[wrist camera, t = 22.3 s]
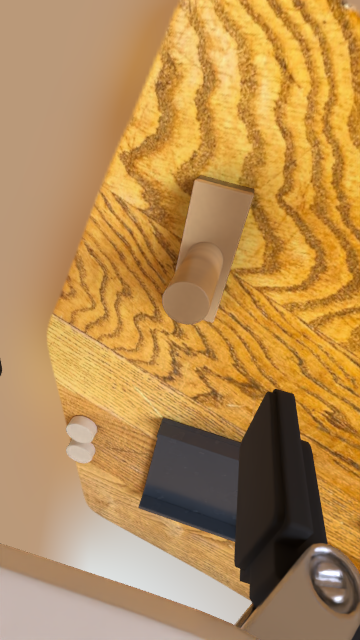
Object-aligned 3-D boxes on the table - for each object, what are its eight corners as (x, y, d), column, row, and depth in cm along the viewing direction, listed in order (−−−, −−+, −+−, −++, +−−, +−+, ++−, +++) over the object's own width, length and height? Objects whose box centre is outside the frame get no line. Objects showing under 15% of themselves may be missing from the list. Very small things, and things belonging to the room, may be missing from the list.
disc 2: (71, 450, 40) (66, 458, 39) (70, 434, 38) (65, 442, 37) (95, 457, 40) (91, 466, 38) (95, 441, 38) (91, 450, 37)
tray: (143, 491, 41) (138, 508, 39) (163, 417, 33) (157, 433, 31) (250, 528, 40) (249, 547, 38) (298, 461, 32) (300, 481, 30)
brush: (173, 297, 25) (140, 360, 18) (200, 174, 20) (167, 202, 13) (216, 309, 25) (198, 379, 18) (254, 189, 20) (248, 224, 13)
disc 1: (71, 429, 38) (66, 438, 37) (71, 412, 36) (65, 420, 35) (96, 438, 37) (92, 446, 36) (98, 420, 36) (93, 429, 35)
